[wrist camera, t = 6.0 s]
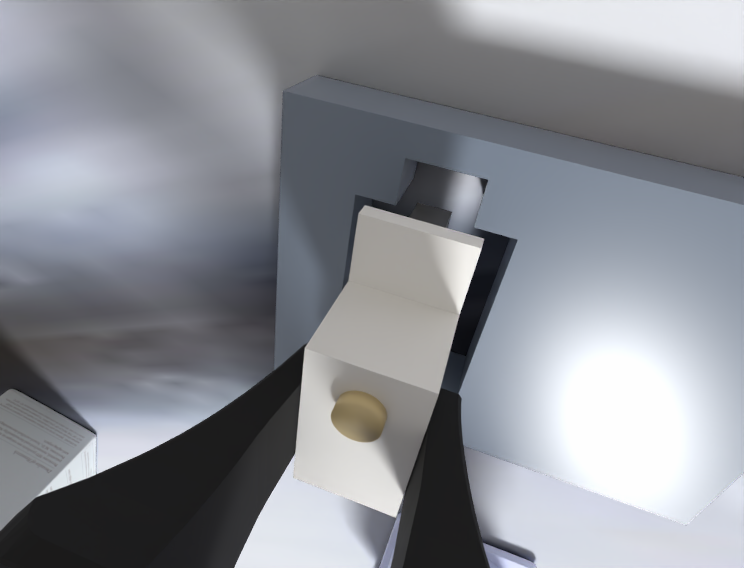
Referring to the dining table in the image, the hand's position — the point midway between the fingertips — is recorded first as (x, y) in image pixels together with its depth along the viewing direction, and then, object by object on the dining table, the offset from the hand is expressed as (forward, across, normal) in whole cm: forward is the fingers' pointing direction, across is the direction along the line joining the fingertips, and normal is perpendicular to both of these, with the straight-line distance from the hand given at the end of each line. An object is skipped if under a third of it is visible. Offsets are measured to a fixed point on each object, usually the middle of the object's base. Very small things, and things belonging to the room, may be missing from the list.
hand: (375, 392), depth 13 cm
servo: (+4, 0, 0) cm, 4 cm away
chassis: (+6, -4, 0) cm, 7 cm away
